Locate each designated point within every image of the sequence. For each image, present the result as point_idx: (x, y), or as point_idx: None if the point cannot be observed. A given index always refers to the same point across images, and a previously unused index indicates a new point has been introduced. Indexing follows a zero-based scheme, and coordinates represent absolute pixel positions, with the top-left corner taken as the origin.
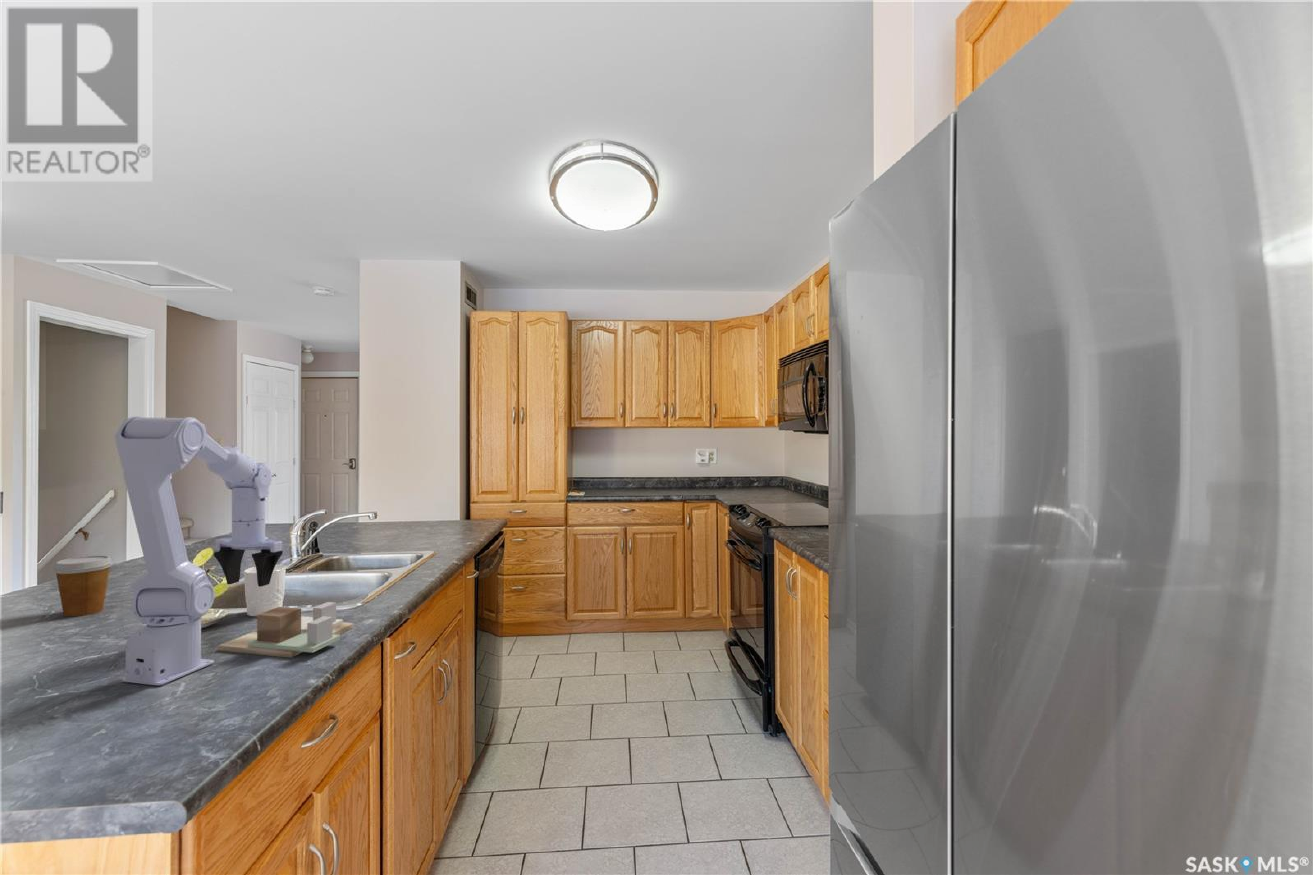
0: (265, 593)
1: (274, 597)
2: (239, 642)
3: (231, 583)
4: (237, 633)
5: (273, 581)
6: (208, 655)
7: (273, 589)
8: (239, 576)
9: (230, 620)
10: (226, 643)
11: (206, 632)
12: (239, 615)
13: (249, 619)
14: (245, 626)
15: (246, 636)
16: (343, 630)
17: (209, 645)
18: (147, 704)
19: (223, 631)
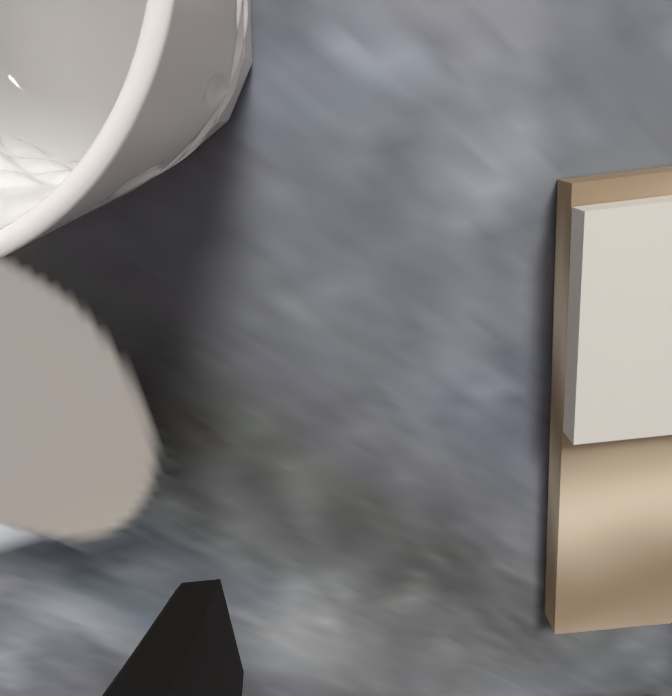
0: (203, 123)
1: (242, 29)
2: (628, 586)
3: (240, 663)
4: (403, 436)
5: (211, 16)
6: (549, 651)
7: (229, 31)
8: (203, 633)
9: (98, 284)
10: (572, 611)
11: (211, 479)
12: None
13: (202, 222)
14: (327, 337)
15: (590, 524)
16: None
17: (432, 585)
18: None
19: (288, 440)
